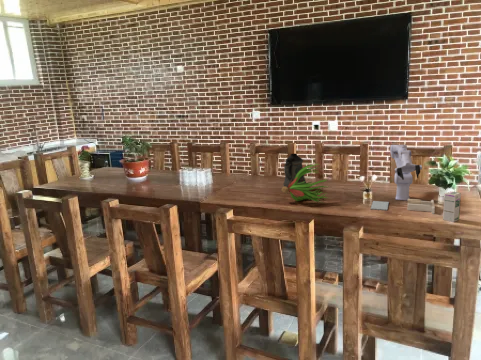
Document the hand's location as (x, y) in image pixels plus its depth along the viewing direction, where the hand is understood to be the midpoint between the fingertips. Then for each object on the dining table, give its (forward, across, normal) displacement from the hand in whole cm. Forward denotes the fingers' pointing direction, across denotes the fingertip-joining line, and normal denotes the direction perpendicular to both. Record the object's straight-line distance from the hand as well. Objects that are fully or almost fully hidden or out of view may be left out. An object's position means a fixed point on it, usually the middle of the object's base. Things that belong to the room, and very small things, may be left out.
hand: (410, 177), depth 221 cm
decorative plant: (-4, -62, +11) cm, 63 cm away
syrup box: (+24, +16, +13) cm, 31 cm away
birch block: (+7, 0, +18) cm, 19 cm away
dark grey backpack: (-32, -74, +22) cm, 84 cm away
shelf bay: (+7, +3, +18) cm, 19 cm away
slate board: (+4, -18, +15) cm, 24 cm away
